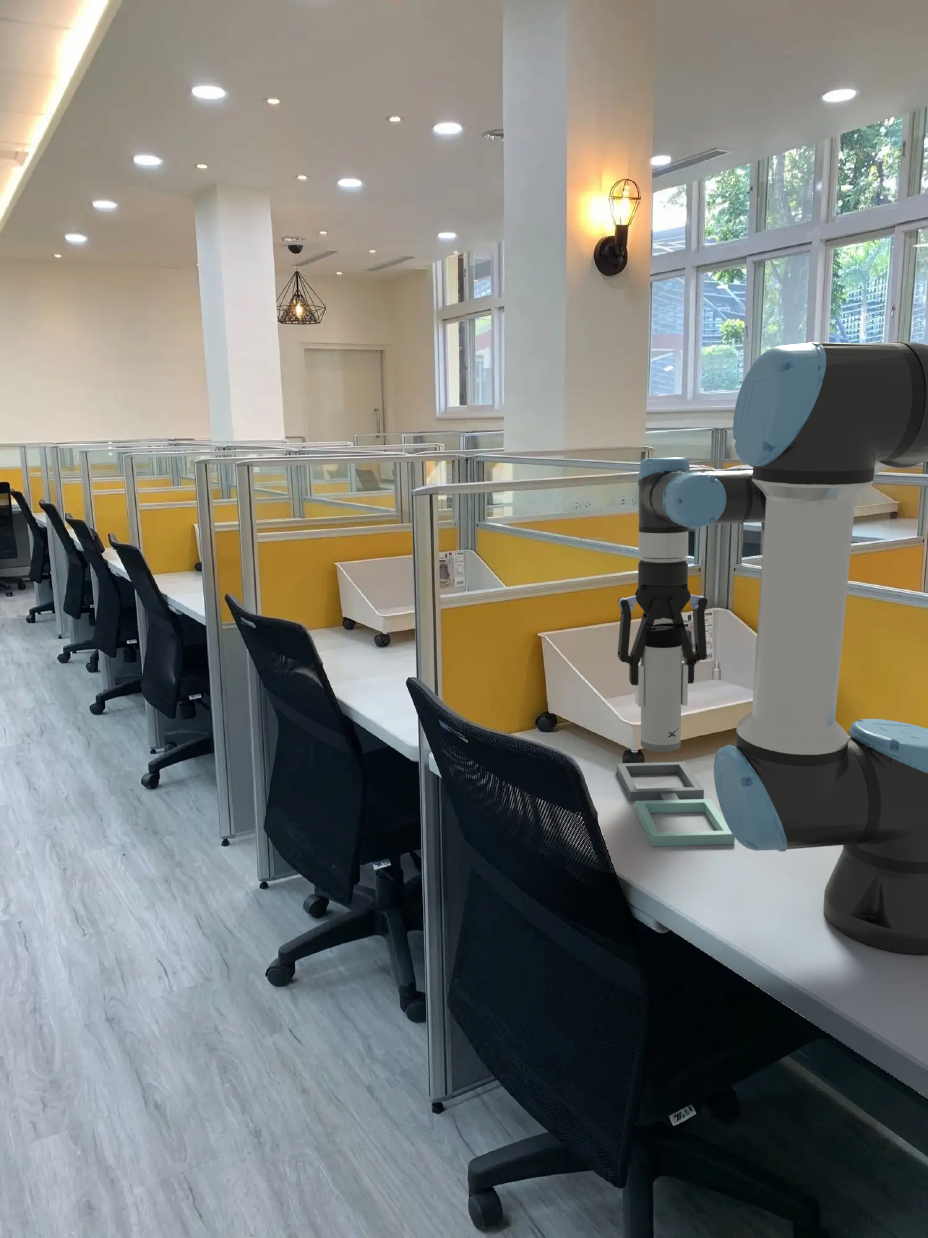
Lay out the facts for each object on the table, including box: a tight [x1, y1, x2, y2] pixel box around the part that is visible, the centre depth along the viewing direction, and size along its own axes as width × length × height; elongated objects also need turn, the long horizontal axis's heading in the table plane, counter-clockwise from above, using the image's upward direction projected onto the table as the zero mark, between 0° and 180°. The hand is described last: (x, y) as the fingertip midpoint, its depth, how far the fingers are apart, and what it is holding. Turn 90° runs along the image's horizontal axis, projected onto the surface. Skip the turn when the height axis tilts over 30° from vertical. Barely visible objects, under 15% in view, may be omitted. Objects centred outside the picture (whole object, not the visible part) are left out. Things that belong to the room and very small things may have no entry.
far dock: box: [616, 761, 705, 802], centre depth 148 cm, size 16×11×2 cm
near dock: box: [634, 798, 736, 847], centre depth 134 cm, size 12×11×2 cm
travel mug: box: [640, 622, 686, 753], centre depth 146 cm, size 6×7×20 cm
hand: (661, 703), depth 147 cm, fingers closed on travel mug, 6 cm apart
